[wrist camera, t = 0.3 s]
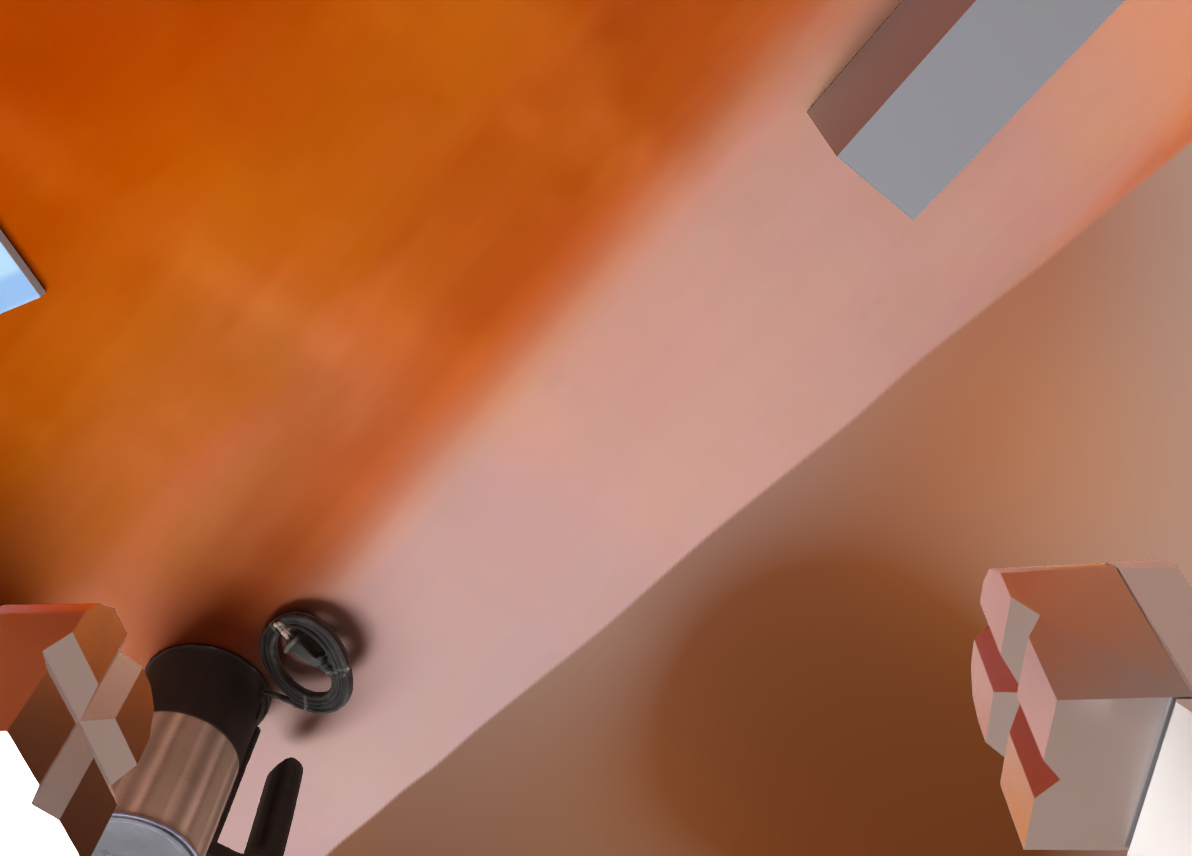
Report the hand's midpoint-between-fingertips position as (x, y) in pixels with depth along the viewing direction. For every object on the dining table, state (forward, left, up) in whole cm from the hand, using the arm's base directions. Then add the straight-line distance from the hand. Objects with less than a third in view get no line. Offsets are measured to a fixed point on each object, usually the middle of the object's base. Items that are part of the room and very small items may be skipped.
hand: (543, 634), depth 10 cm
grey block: (+6, +17, -48) cm, 51 cm away
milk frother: (+43, -31, -48) cm, 71 cm away
